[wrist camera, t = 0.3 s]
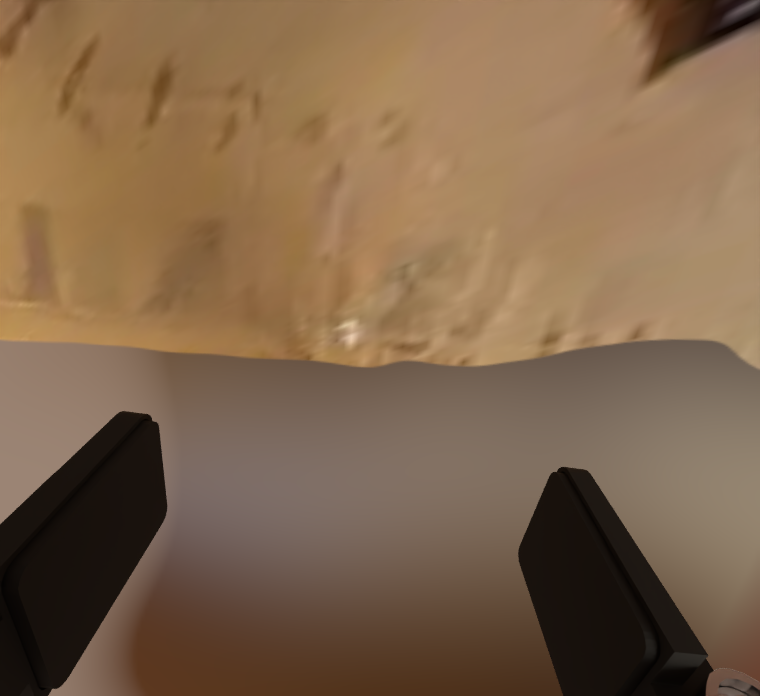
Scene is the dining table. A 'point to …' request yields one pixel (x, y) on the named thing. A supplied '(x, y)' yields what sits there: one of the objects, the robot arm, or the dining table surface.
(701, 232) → the dining table surface
